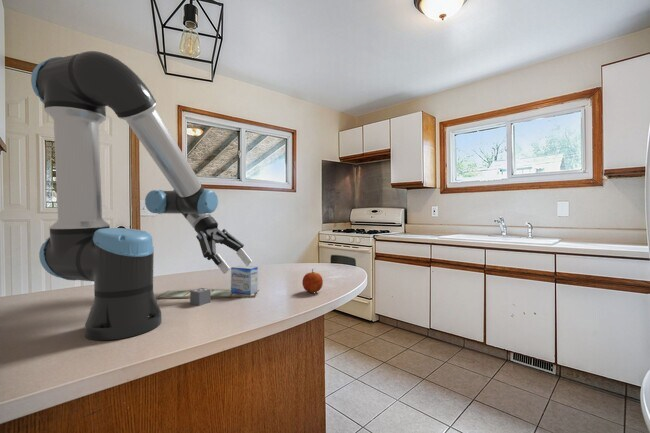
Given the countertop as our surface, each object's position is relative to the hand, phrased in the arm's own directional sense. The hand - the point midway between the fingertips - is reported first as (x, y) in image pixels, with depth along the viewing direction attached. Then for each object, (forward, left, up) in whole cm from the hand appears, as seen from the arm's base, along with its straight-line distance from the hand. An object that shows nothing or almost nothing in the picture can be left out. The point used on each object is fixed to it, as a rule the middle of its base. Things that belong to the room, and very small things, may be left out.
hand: (239, 267), depth 104 cm
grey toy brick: (-4, +15, -9) cm, 17 cm away
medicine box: (-4, 0, -8) cm, 9 cm away
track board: (+3, +9, -8) cm, 13 cm away
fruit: (-18, -18, -9) cm, 27 cm away
